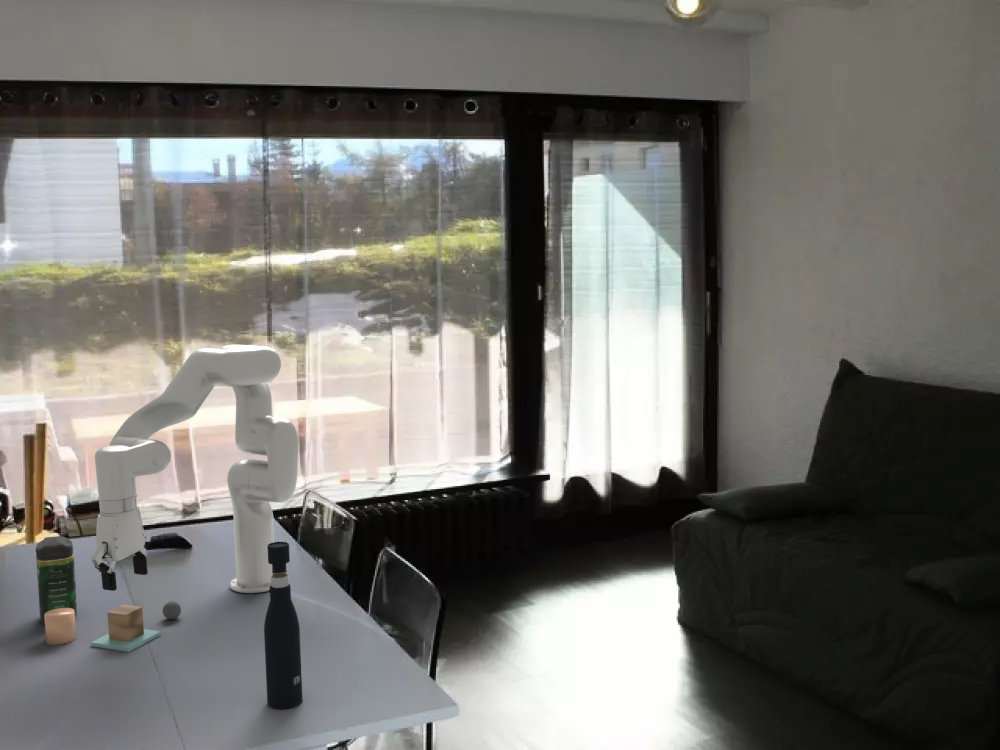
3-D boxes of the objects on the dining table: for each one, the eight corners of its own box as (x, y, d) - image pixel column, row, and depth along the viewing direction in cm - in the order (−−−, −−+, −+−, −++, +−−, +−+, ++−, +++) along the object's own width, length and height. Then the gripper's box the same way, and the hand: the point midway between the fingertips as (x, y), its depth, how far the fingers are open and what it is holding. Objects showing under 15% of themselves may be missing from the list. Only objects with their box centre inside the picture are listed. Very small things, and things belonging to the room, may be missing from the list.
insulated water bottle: (269, 695, 198) (262, 540, 194) (304, 693, 199) (297, 538, 195) (265, 710, 192) (257, 550, 188) (300, 708, 192) (294, 548, 189)
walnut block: (125, 631, 230) (123, 604, 229) (143, 633, 228) (142, 607, 227) (109, 639, 225) (107, 612, 224) (128, 642, 224) (126, 614, 223)
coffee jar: (78, 622, 238) (73, 542, 235) (40, 627, 235) (34, 546, 232) (77, 608, 247) (72, 531, 244) (40, 614, 244) (34, 535, 241)
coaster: (123, 629, 233) (123, 626, 233) (160, 634, 229) (160, 631, 229) (91, 645, 224) (90, 642, 224) (129, 651, 220) (129, 648, 220)
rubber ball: (170, 614, 242) (169, 598, 241) (185, 616, 240) (184, 599, 240) (159, 620, 238) (158, 603, 238) (173, 622, 237) (172, 605, 236)
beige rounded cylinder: (60, 632, 232) (58, 606, 231) (82, 636, 230) (80, 609, 229) (39, 642, 226) (37, 615, 225) (61, 646, 224) (60, 619, 223)
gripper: (131, 492, 232) (138, 566, 235) (74, 514, 216) (82, 594, 219) (159, 494, 229) (166, 570, 232) (103, 517, 214) (111, 598, 216)
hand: (125, 581), depth 226 cm, fingers open, 9 cm apart
